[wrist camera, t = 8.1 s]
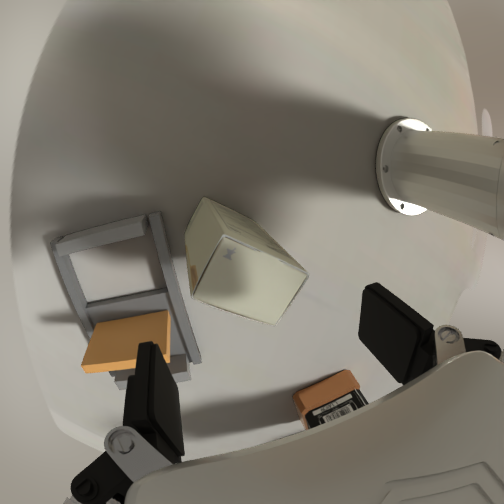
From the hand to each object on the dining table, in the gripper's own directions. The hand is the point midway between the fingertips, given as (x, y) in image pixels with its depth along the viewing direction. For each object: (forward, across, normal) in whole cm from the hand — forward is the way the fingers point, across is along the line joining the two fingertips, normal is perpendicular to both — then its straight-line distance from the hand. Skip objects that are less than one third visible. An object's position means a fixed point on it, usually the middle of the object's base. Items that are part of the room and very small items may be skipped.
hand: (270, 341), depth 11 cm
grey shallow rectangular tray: (+17, +11, +6) cm, 21 cm away
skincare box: (+17, 0, 0) cm, 17 cm away
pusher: (+16, +11, +10) cm, 22 cm away
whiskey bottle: (+17, -12, +32) cm, 38 cm away
